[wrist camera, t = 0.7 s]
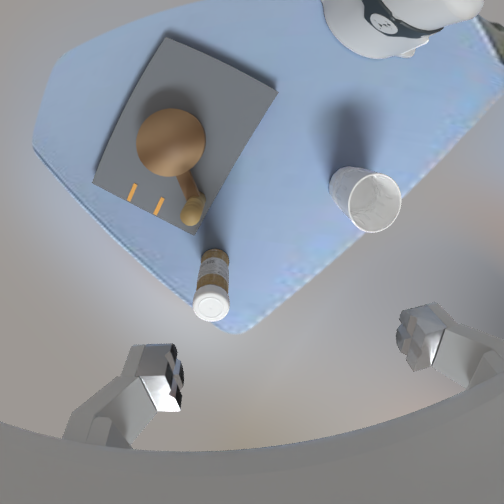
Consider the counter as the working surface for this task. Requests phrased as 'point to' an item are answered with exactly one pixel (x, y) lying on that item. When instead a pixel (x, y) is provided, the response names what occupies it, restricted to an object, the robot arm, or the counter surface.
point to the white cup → (366, 197)
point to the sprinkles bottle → (212, 286)
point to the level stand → (198, 104)
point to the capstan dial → (174, 154)
